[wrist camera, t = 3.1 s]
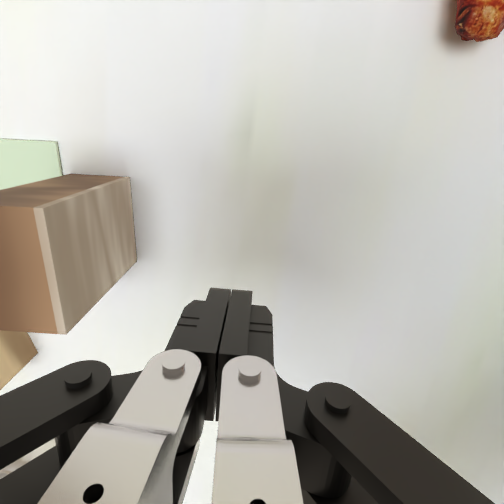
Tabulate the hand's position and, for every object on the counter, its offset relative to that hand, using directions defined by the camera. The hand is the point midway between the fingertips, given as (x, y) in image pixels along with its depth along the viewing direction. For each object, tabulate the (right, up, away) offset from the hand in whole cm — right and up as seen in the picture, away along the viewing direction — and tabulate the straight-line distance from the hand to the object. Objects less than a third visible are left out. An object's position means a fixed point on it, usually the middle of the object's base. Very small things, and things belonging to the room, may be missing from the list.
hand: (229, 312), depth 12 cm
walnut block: (-9, +4, +11) cm, 15 cm away
